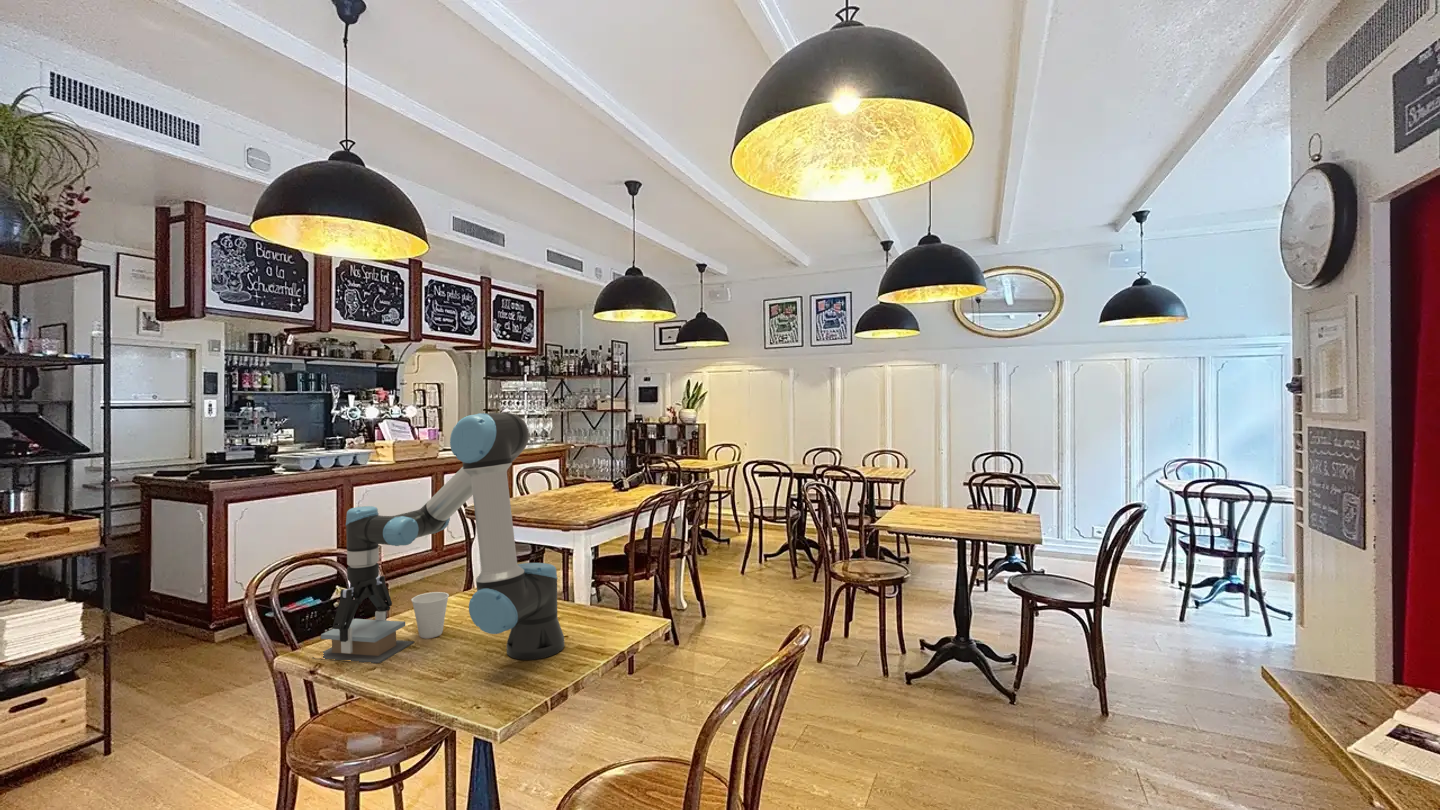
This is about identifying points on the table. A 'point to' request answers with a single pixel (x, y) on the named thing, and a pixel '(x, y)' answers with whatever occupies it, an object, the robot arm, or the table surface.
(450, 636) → the table surface
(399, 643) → the brown block on plate
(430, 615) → the cup
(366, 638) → the sheet
